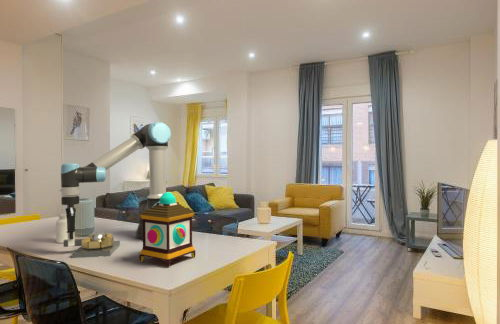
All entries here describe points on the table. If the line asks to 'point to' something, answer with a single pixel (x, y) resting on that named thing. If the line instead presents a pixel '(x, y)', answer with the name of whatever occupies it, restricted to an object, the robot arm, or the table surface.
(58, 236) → the pill bottle
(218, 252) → the table surface
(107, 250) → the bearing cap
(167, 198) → the decorative lantern
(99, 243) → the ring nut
